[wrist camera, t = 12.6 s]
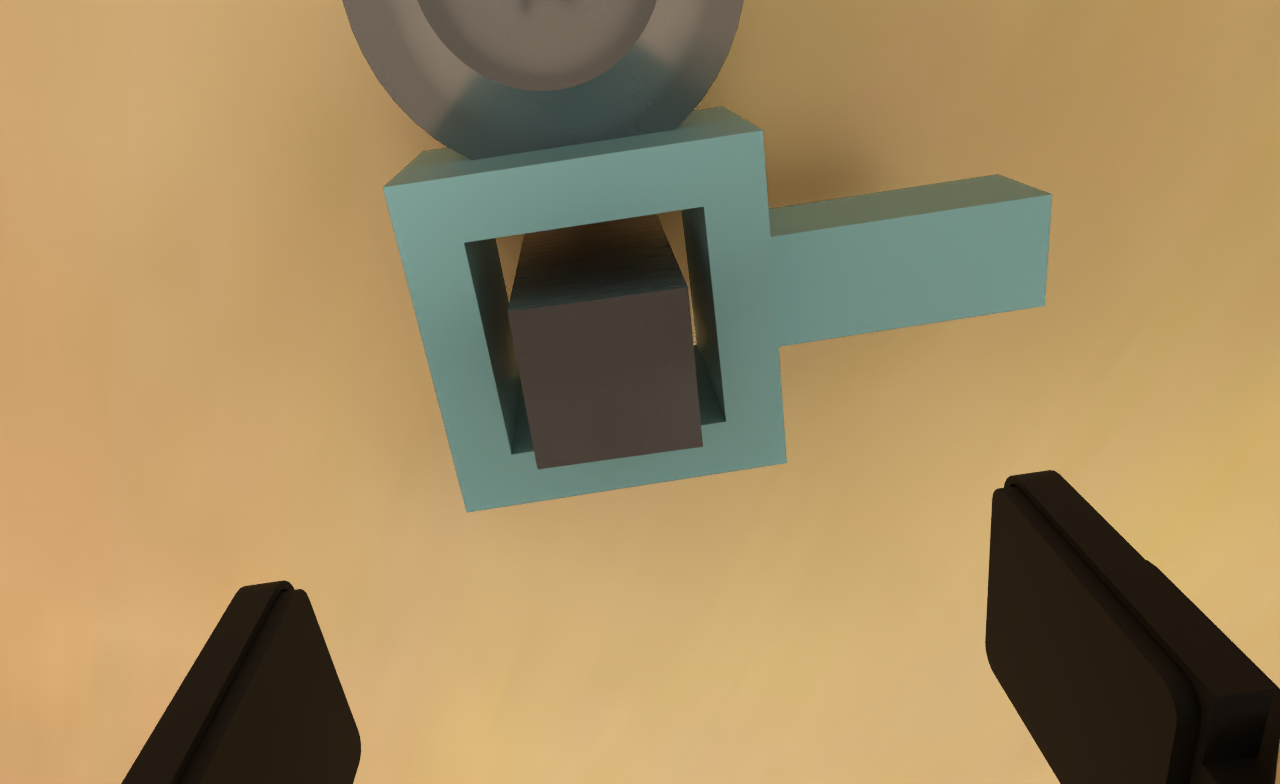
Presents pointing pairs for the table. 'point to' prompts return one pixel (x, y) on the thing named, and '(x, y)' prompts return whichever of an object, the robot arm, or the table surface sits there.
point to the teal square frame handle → (692, 283)
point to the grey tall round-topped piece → (543, 66)
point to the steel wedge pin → (604, 343)
